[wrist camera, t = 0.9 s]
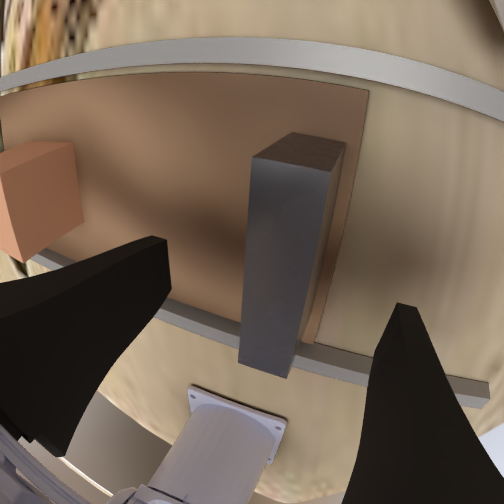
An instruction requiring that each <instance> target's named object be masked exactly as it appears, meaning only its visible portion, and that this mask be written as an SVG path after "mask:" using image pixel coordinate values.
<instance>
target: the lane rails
mask: <svg viewBox="0 0 504 504" xmlns="http://www.w3.org/2000/svg"><path fill="white" fill-rule="evenodd" d="M175 63H234V64H254V65H269V66H280V67H290V68H299V69H307V70H315V71H322V72H328V73H335V74H341V75H346V76H352V77H357V78H362V79H367V80H372V81H376V82H381V83H385V84H389V85H394V86H398V87H402V88H405V89H409V90H413V91H417V92H420V93H424V94H427V95H430V96H434V97H437V98H440V99H443V100H446V101H449V102H452V103H455V104H458V105H461V106H464V107H467V108H470V109H472V110H475V111H478V112H480V113H483V114H485V115H488V116H490V117H493V118H495V119H498V120H500V121H503V122H504V92H503V91H500V90H498V89H496V88H493V87H491V86H489V85H486V84H484V83H481V82H478V81H476V80H473V79H471V78H468V77H465V76H462V75H459V74H456V73H454V72H451V71H448V70H444V69H441V68H438V67H435V66H431V65H428V64H425V63H421V62H417V61H414V60H410V59H406V58H402V57H398V56H394V55H389V54H385V53H380V52H376V51H371V50H366V49H360V48H355V47H349V46H342V45H336V44H329V43H321V42H313V41H303V40H292V39H279V38H259V37H206V38H186V39H173V40H162V41H153V42H144V43H137V44H130V45H123V46H117V47H111V48H106V49H101V50H96V51H91V52H86V53H81V54H77V55H73V56H69V57H65V58H61V59H57V60H53V61H50V62H46V63H43V64H39V65H36V66H33V67H30V68H27V69H23V70H20V71H18V72H15V73H12V74H9V75H6V76H3V77H1V78H0V91H3V90H7V89H10V88H14V87H18V86H22V85H25V84H29V83H34V82H38V81H42V80H47V79H51V78H56V77H61V76H66V75H72V74H78V73H84V72H90V71H97V70H104V69H112V68H121V67H130V66H142V65H155V64H175ZM30 259H31V260H33V261H35V262H37V263H39V264H41V265H43V266H45V267H46V268H48V269H50V270H52V271H53V270H56V269H59V268H62V267H65V266H68V265H71V264H74V263H76V262H78V261H76V260H73V259H71V258H69V257H66V256H64V255H62V254H59V253H57V252H55V251H53V250H50V249H48V248H44V249H43V250H42V251H40V252H39V253H37V254H36V255H34V256H33V257H32V258H30ZM154 318H157V319H159V320H162V321H164V322H167V323H169V324H172V325H174V326H177V327H179V328H182V329H185V330H187V331H190V332H192V333H195V334H198V335H200V336H203V337H206V338H208V339H211V340H214V341H217V342H219V343H222V344H225V345H228V346H231V347H234V348H236V349H239V341H240V325H241V323H240V322H237V321H234V320H231V319H228V318H225V317H222V316H219V315H216V314H213V313H211V312H208V311H205V310H202V309H199V308H196V307H193V306H191V305H188V304H185V303H182V302H179V301H177V300H174V299H171V298H168V297H167V298H166V300H165V301H164V303H163V304H162V306H161V307H160V309H159V310H158V312H157V313H156V314H155V316H154ZM372 361H373V358H370V357H366V356H362V355H358V354H354V353H351V352H347V351H343V350H339V349H336V348H332V347H328V346H325V345H321V344H318V343H313V345H312V344H309V343H305V342H302V341H301V343H300V345H299V348H298V351H297V353H296V356H295V359H294V361H293V364H292V367H295V368H299V369H302V370H305V371H309V372H312V373H316V374H319V375H323V376H327V377H330V378H334V379H338V380H342V381H345V382H349V383H353V384H357V385H361V386H365V387H368V380H369V375H370V371H371V366H372ZM446 377H447V379H448V381H449V383H450V385H451V388H452V390H453V392H454V394H455V396H456V398H457V400H458V402H459V404H460V406H465V407H471V408H478V409H482V408H483V407H484V405H485V404H486V403H487V402H488V401H489V400H490V392H489V385H488V383H486V382H480V381H475V380H469V379H464V378H459V377H454V376H449V375H446Z"/></svg>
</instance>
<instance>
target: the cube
mask: <svg viewBox="0 0 504 504" xmlns="http://www.w3.org/2000/svg"><path fill="white" fill-rule="evenodd" d="M84 222H85V221H84V216H83V210H82V204H81V198H80V192H79V185H78V178H77V171H76V163H75V155H74V145H73V142H52V141H28V142H26V143H23V144H21V145H18V146H16V147H13V148H11V149H8V150H6V151H4V152H1V153H0V250H2V251H4V252H5V253H7V254H9V255H10V256H12V257H14V258H15V259H17V260H19V261H21V262H22V263H25V262H26V261H27V260H29V259H30V258H32V257H33V256H34V255H36V254H37V253H39V252H40V251H42V250H43V249H44V248H46V247H47V246H49V245H50V244H52V243H53V242H55V241H56V240H58V239H59V238H61V237H62V236H64V235H65V234H67V233H68V232H70V231H71V230H73V229H74V228H76V227H77V226H79V225H80V224H82V223H84Z"/></svg>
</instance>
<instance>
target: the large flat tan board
mask: <svg viewBox="0 0 504 504" xmlns="http://www.w3.org/2000/svg"><path fill="white" fill-rule="evenodd" d="M368 94H369V91H368V90H363V89H358V88H353V87H348V86H343V85H337V84H331V83H325V82H318V81H312V80H304V79H296V78H288V77H279V76H268V75H256V74H242V73H219V72H166V73H145V74H130V75H118V76H108V77H99V78H91V79H84V80H77V81H70V82H64V83H58V84H53V85H48V86H42V87H38V88H33V89H28V90H24V91H19V92H15V93H11V94H7V95H4V96H0V116H1V126H2V135H3V142H4V149H5V151H6V150H8V149H11V148H13V147H16V146H18V145H21V144H23V143H26V142H28V141H52V142H73V145H74V155H75V163H76V171H77V178H78V185H79V192H80V198H81V204H82V210H83V216H84V221H85V222H84V223H82V224H80V225H79V226H77V227H76V228H74V229H73V230H71V231H70V232H68V233H67V234H65V235H64V236H62V237H61V238H59V239H58V240H56V241H55V242H53V243H52V244H50V245H49V246H47V247H46V248H48V249H50V250H53V251H55V252H57V253H59V254H62V255H64V256H66V257H69V258H71V259H73V260H76V261H78V262H79V261H82V260H85V259H87V258H90V257H93V256H95V255H98V254H101V253H103V252H106V251H108V250H111V249H113V248H116V247H119V246H121V245H124V244H127V243H129V242H132V241H135V240H138V239H141V238H144V237H147V236H151V235H153V236H157V237H160V238H164V239H167V243H168V255H169V265H170V275H171V285H172V290H171V292H170V293H169V295H168V296H167V297H168V298H171V299H174V300H177V301H179V302H182V303H185V304H188V305H191V306H193V307H196V308H199V309H202V310H205V311H208V312H211V313H213V314H216V315H219V316H222V317H225V318H228V319H231V320H234V321H237V322H240V323H241V325H240V341H239V357H238V363H240V364H243V365H246V366H249V367H252V368H255V369H258V370H261V371H264V372H267V373H270V374H273V375H276V376H279V377H282V378H286V379H287V377H288V374H289V372H290V369H291V366H292V364H293V361H294V359H295V356H296V353H297V351H298V348H299V345H300V343H301V341H302V342H305V343H309V344H312V345H313V343H314V340H315V337H316V334H317V330H318V327H319V323H320V320H321V316H322V313H323V309H324V305H325V302H326V298H327V294H328V291H329V287H330V283H331V279H332V275H333V271H334V268H335V264H336V259H337V255H338V251H339V247H340V243H341V239H342V234H343V230H344V226H345V221H346V217H347V212H348V207H349V203H350V198H351V193H352V188H353V183H354V178H355V173H356V167H357V162H358V157H359V151H360V145H361V139H362V133H363V127H364V121H365V115H366V108H367V101H368Z"/></svg>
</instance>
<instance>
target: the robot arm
mask: <svg viewBox="0 0 504 504" xmlns="http://www.w3.org/2000/svg"><path fill="white" fill-rule="evenodd" d="M171 290H172V285H171V275H170V265H169V255H168V243H167V239H164V238H160V237H157V236H153V235H151V236H147V237H144V238H141V239H138V240H135V241H132V242H129V243H127V244H124V245H121V246H119V247H116V248H113V249H111V250H108V251H106V252H103V253H101V254H98V255H95V256H93V257H90V258H87V259H85V260H82V261H79V262H76V263H74V264H71V265H68V266H65V267H62V268H59V269H56V270H53V271H50V272H46V273H43V274H39V275H36V276H32V277H28V278H23V279H18V280H13V281H9V282H3V283H0V504H53V503H52V502H51V501H50V500H49V498H50V499H51V500H52V501H53V502H55V503H56V504H92V503H90V502H89V501H88V500H86V499H85V498H83V497H82V496H81V495H79V494H78V493H77V492H75V491H74V490H72V489H71V488H70V487H68V486H67V485H66V484H65V483H64V482H62V481H61V480H60V479H59V478H57V477H56V476H55V475H54V474H53V473H51V472H50V471H49V470H48V469H47V468H46V467H44V466H43V465H42V464H41V463H40V462H39V461H38V460H37V459H35V458H34V457H33V456H32V455H31V454H30V453H29V452H28V451H27V450H26V449H25V448H23V446H22V445H20V444H19V443H18V440H19V438H20V437H21V436H23V438H24V439H26V440H27V441H28V442H29V443H31V442H32V441H33V440H34V439H35V440H36V441H37V442H38V443H40V444H41V445H42V446H43V447H44V448H45V449H46V450H48V451H49V452H50V453H51V454H52V455H54V456H55V457H63V456H65V454H66V451H67V449H68V446H69V444H70V441H71V439H72V437H73V434H74V432H75V430H76V428H77V425H78V424H79V421H80V419H81V417H82V416H83V413H84V412H85V410H86V408H87V406H88V404H89V402H90V400H91V399H92V397H93V395H94V394H95V392H96V390H97V389H98V387H99V385H100V384H101V382H102V381H103V379H104V378H105V376H106V375H107V373H108V371H109V370H110V368H111V367H112V366H113V364H114V363H115V362H116V360H117V359H118V358H119V357H120V355H121V354H122V353H123V352H124V351H125V350H126V348H127V347H128V346H129V345H130V344H131V342H132V341H133V340H134V339H135V338H136V337H137V336H138V334H139V333H140V332H141V331H142V330H143V329H144V327H145V326H146V325H147V324H148V323H149V322H150V320H151V319H152V318H153V317H154V316H155V314H156V313H157V312H158V310H159V309H160V307H161V306H162V304H163V303H164V301H165V300H166V298H167V296H168V295H169V293H170V292H171ZM187 393H188V399H189V405H190V411H191V417H190V418H189V420H188V422H187V423H186V425H185V426H184V428H183V430H182V431H181V433H180V435H179V436H178V438H177V439H176V441H175V443H174V444H173V446H172V447H171V449H170V450H169V452H168V454H167V455H166V457H165V459H164V460H163V462H162V463H161V465H160V466H159V468H158V470H157V471H156V472H155V474H154V476H153V477H152V479H151V480H150V482H149V483H148V485H147V486H145V485H143V484H141V485H140V487H139V488H138V489H136V488H134V487H131V488H128V489H122V490H120V491H118V492H117V493H115V494H114V495H113V496H112V497H111V498H110V499H109V500H108V501H107V503H106V504H248V502H249V500H250V498H251V496H252V494H253V492H254V490H255V487H256V485H257V483H258V481H259V478H260V476H261V474H262V472H263V469H264V467H265V465H266V464H272V462H273V460H274V457H275V455H276V452H277V449H278V447H279V444H280V442H281V439H282V436H283V433H284V431H285V428H286V425H287V422H286V421H285V420H284V419H282V418H279V417H275V416H272V415H269V414H266V413H263V412H260V411H257V410H254V409H252V408H249V407H246V406H243V405H240V404H238V403H235V402H232V401H229V400H227V399H224V398H222V397H219V396H216V395H214V394H211V393H209V392H206V391H204V390H201V389H199V388H197V387H194V386H189V388H188V389H187ZM16 468H17V469H18V470H19V471H20V472H21V473H22V474H23V475H25V477H26V478H28V479H29V480H30V481H31V482H32V483H33V484H34V485H35V486H36V487H37V488H38V489H39V490H41V491H42V492H43V493H44V494H45V495H47V496H45V495H44V494H43V493H42V492H40V491H39V490H38V489H37V488H35V487H34V486H32V485H31V484H30V483H29V482H27V481H26V480H25V479H23V478H22V477H21V476H19V475H18V474H17V473H16ZM48 497H49V498H48ZM342 504H504V478H503V476H502V475H501V474H500V472H499V471H498V469H497V468H496V466H495V465H494V463H493V462H492V460H491V459H490V457H489V455H488V454H487V452H486V450H485V449H484V447H483V446H482V444H481V442H480V441H479V439H478V437H477V436H476V434H475V432H474V430H473V429H472V427H471V425H470V423H469V421H468V419H467V417H466V415H465V414H464V412H463V410H462V408H461V406H460V404H459V402H458V400H457V398H456V396H455V394H454V392H453V390H452V388H451V385H450V383H449V381H448V379H447V377H446V375H445V373H444V370H443V368H442V366H441V363H440V361H439V359H438V356H437V354H436V352H435V349H434V347H433V345H432V342H431V340H430V337H429V335H428V333H427V330H426V328H425V325H424V323H423V321H422V318H421V316H420V314H419V312H418V309H417V307H413V306H409V305H405V304H401V303H398V302H397V304H396V306H395V308H394V311H393V313H392V315H391V317H390V320H389V322H388V324H387V326H386V328H385V330H384V333H383V335H382V337H381V339H380V341H379V343H378V345H377V347H376V349H375V352H374V357H373V361H372V366H371V371H370V375H369V380H368V387H367V396H366V404H365V411H364V419H363V426H362V432H361V439H360V445H359V450H358V454H357V458H356V462H355V465H354V469H353V472H352V475H351V478H350V481H349V484H348V487H347V490H346V493H345V496H344V498H343V501H342Z"/></svg>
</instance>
